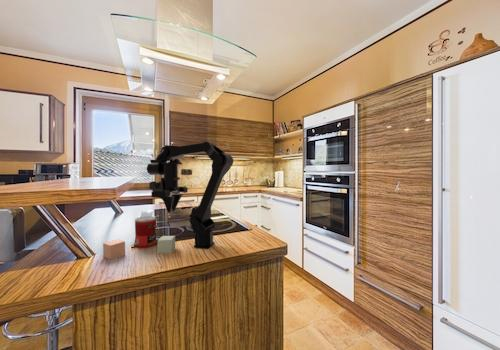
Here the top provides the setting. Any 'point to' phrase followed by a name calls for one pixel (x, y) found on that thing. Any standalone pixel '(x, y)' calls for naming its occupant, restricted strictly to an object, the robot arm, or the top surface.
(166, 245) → the sage block
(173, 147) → the robot arm
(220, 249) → the top surface
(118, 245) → the terracotta block
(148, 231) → the canned food
